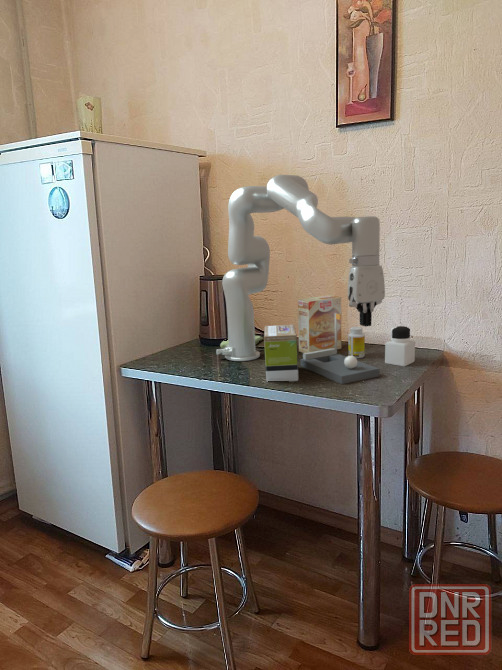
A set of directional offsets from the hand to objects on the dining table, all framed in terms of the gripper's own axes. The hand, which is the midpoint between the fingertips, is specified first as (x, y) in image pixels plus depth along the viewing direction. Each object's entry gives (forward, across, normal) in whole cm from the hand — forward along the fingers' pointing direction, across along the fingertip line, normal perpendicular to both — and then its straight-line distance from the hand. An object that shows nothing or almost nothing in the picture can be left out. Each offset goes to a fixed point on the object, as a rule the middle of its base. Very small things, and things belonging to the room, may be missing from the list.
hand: (365, 325), depth 151 cm
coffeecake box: (+17, +10, +39) cm, 44 cm away
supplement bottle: (+17, +15, +24) cm, 33 cm away
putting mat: (+17, 0, +14) cm, 22 cm away
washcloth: (+18, -10, +65) cm, 68 cm away
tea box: (+17, -17, +20) cm, 32 cm away
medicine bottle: (+17, +22, +10) cm, 30 cm away
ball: (+13, 0, +7) cm, 14 cm away
